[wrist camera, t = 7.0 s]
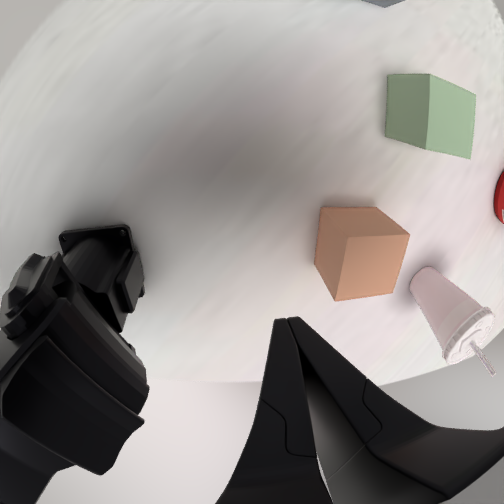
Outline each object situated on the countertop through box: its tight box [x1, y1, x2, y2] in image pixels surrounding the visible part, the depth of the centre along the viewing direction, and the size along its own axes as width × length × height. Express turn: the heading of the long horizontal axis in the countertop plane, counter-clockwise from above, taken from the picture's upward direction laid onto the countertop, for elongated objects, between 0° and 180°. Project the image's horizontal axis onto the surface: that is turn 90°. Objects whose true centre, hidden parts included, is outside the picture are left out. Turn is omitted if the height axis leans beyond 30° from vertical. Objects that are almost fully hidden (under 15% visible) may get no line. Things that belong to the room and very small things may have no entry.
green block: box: [385, 74, 476, 159], centre depth 15 cm, size 5×5×5 cm
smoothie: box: [410, 267, 496, 377], centre depth 20 cm, size 6×6×14 cm
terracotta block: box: [314, 207, 410, 301], centre depth 20 cm, size 5×5×5 cm
